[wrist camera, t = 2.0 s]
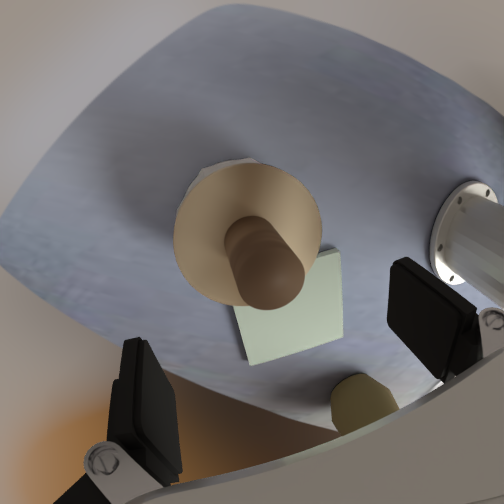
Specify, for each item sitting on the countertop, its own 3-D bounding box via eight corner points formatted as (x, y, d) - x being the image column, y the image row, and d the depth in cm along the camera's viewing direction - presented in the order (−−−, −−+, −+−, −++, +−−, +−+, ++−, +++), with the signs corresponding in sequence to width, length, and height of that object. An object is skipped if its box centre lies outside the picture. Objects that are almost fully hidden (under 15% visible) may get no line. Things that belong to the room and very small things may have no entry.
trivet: (336, 248, 27) (340, 251, 26) (340, 332, 31) (343, 337, 31) (225, 278, 26) (226, 282, 25) (248, 360, 30) (250, 366, 30)
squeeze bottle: (386, 362, 36) (461, 466, 20) (364, 403, 39) (421, 500, 23) (333, 369, 34) (404, 495, 18) (314, 411, 37) (365, 525, 21)
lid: (307, 149, 18) (354, 163, 13) (322, 279, 22) (360, 326, 17) (155, 184, 17) (142, 212, 12) (196, 314, 21) (202, 373, 16)
